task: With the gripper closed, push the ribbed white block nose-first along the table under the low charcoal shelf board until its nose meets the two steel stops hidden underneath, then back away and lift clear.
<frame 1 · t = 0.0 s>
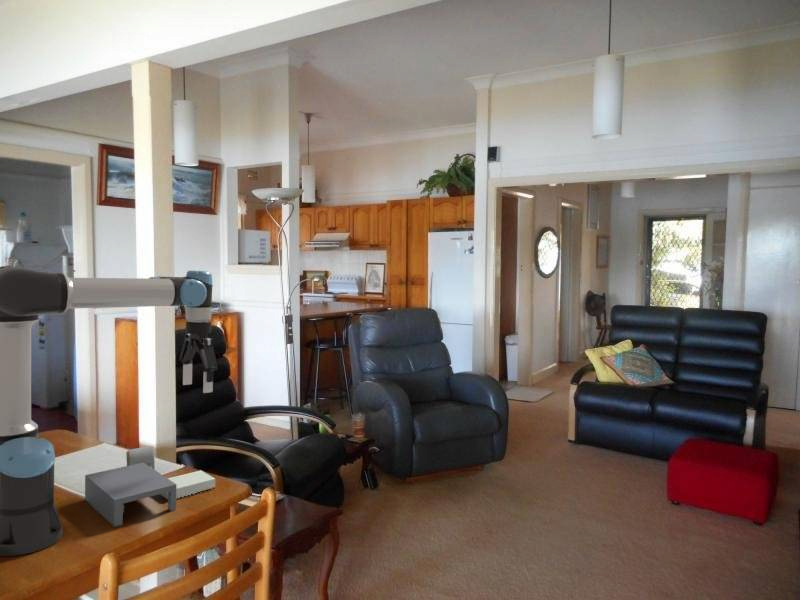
hand: (197, 388, 180), 28 cm above the table, tool pointing down, fingers open, 13 cm apart
ribbed white block: (185, 489, 171), on the table
seat stops: (114, 508, 157), on the table
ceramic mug: (141, 473, 184), on the table
low shelf: (129, 504, 160), on the table
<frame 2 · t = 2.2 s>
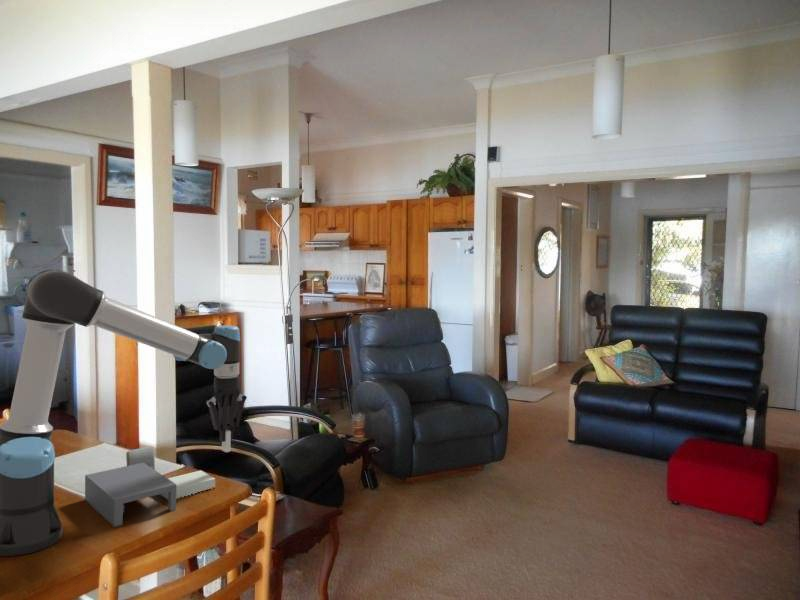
hand: (226, 450, 180), 9 cm above the table, tool pointing down, fingers closed
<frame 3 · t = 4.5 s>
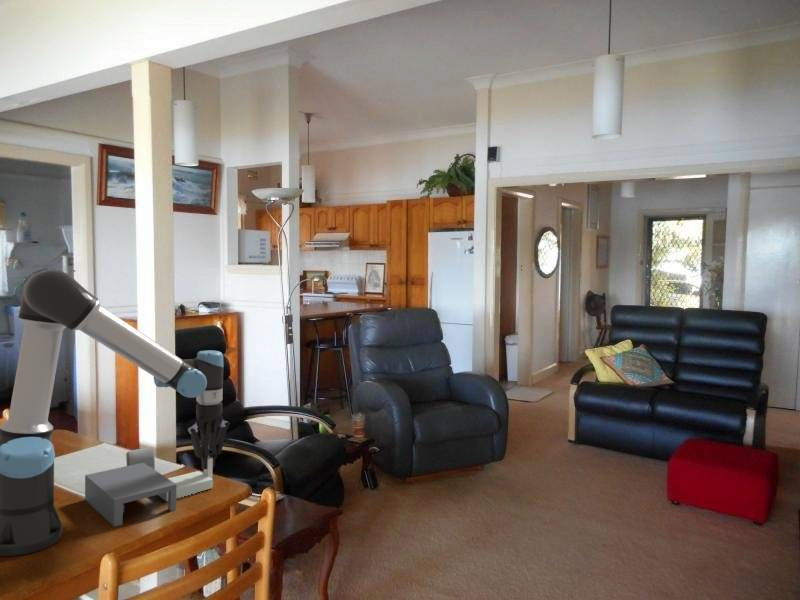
hand: (207, 478, 176), 2 cm above the table, tool pointing down, fingers closed
ribbed white block: (183, 490, 171), on the table, touching gripper
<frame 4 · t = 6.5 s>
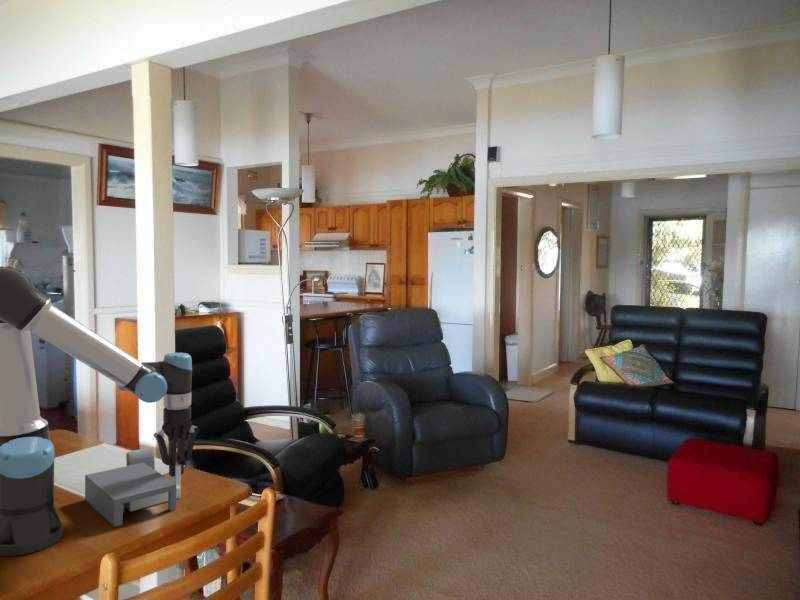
hand: (176, 486, 169), 2 cm above the table, tool pointing down, fingers closed
ribbed white block: (149, 499, 164), on the table, touching gripper
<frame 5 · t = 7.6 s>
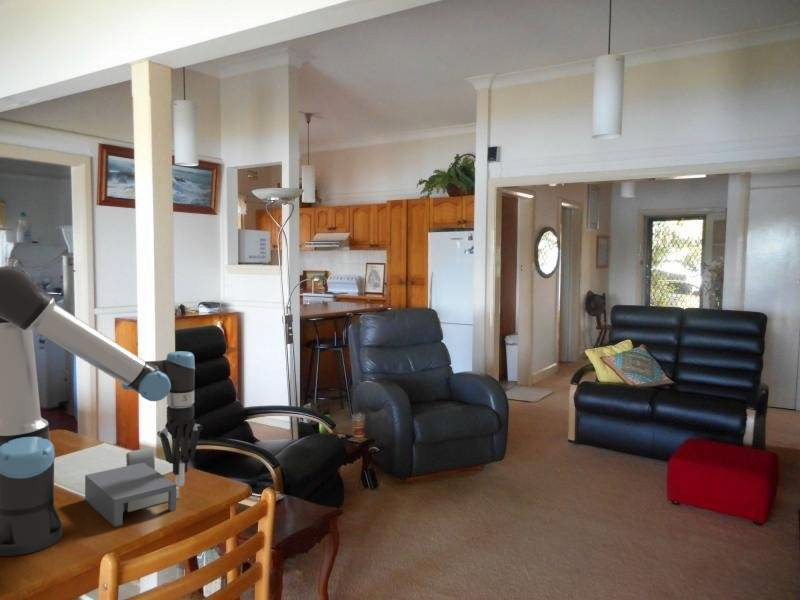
hand: (179, 484, 170), 2 cm above the table, tool pointing down, fingers closed
ribbed white block: (147, 499, 163), on the table
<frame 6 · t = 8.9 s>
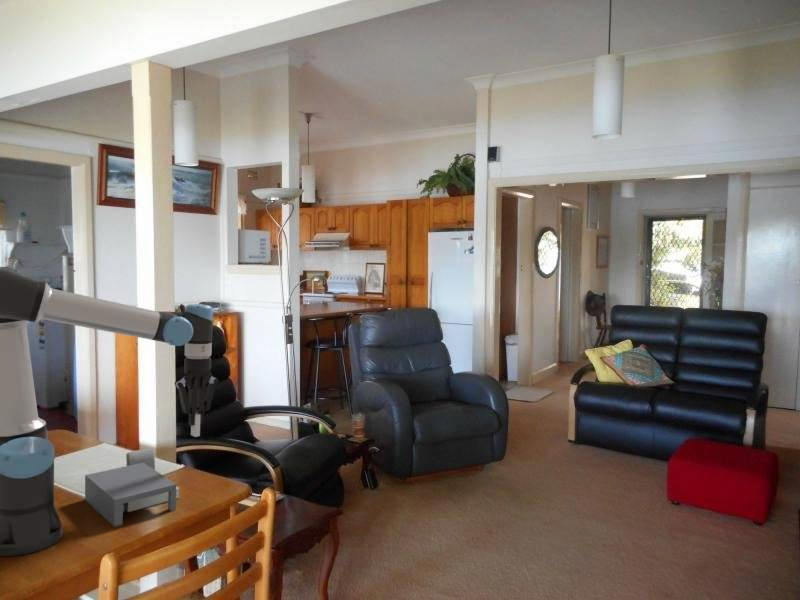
hand: (195, 435, 172), 16 cm above the table, tool pointing down, fingers closed
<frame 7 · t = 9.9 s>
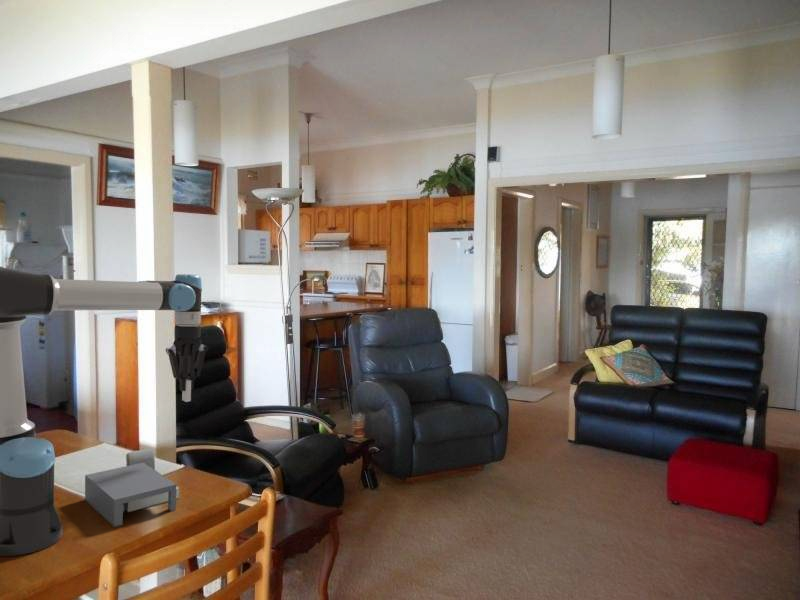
hand: (186, 400, 179), 24 cm above the table, tool pointing down, fingers closed
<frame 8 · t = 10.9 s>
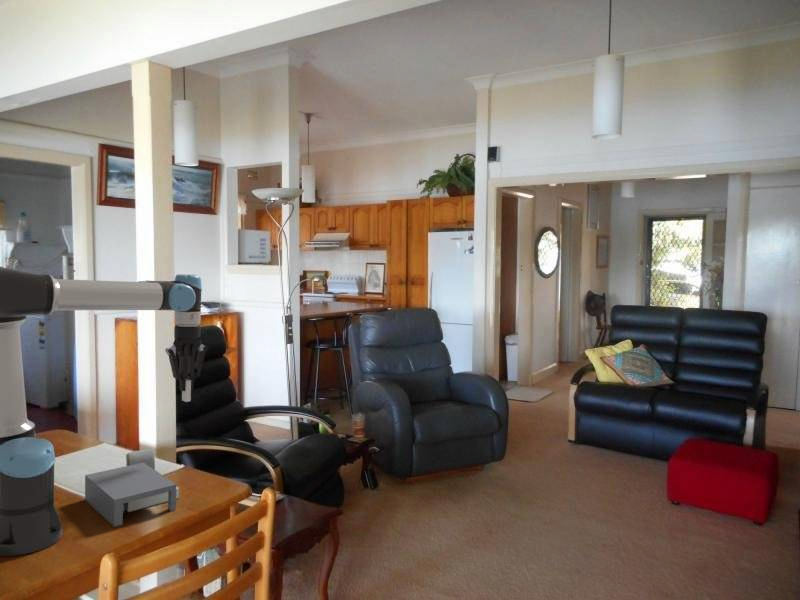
hand: (186, 400, 179), 24 cm above the table, tool pointing down, fingers closed
at the end: ribbed white block 0.3 cm from the target spot, on the table; ribbed white block tilted 0° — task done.
